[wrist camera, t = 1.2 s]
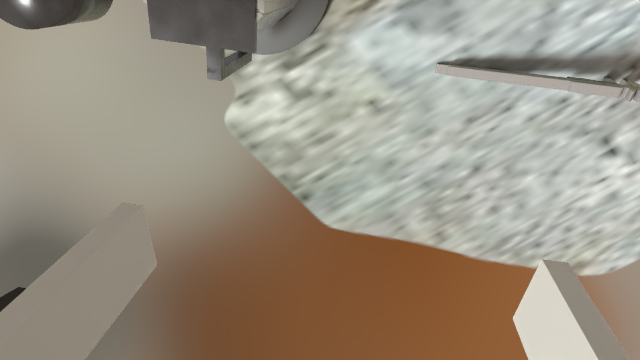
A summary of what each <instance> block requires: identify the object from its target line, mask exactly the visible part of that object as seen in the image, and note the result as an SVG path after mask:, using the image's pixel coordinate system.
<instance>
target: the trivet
mask: <svg viewBox="0 0 640 360" xmlns="http://www.w3.org/2000/svg"><path fill="white" fill-rule="evenodd" d="M328 1H329V0H299V2H298V4H297V5H296V6H295V7H294V8H293V9H292V11H291V12H290V13H289V14H288V15H287V16H286V17H285V18H284V19H282V20H281V21H279V22H278V23H277V24H276V25H275V26H273V27H272V28H270V29H268V30H266V31H264V32H261V33H259V34H257V52H256V53H253V54H262V55H266V54H275V53H280V52H283V51H286V50H289V49H291V48H292V47H294V46H296V45H298V44H299V43H300V42H302V41H303V40H304V39H306V38H307V37H308V36H309V35H310V34H311V33H312V31H313V30H314V29H315V28H316V26H317V25H318V23H319V22H320V20H321V18H322V17H323V14H324V12H325V10H326V7H327V4H328Z"/></svg>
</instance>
